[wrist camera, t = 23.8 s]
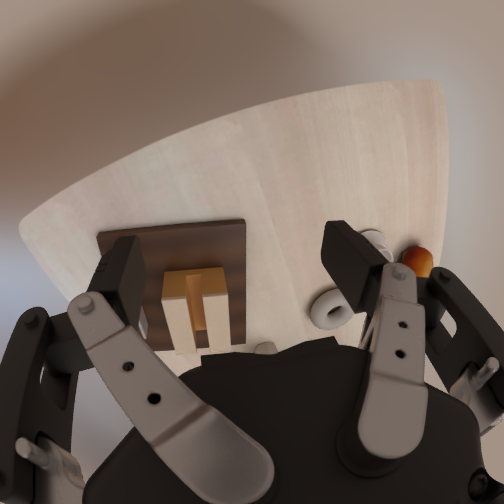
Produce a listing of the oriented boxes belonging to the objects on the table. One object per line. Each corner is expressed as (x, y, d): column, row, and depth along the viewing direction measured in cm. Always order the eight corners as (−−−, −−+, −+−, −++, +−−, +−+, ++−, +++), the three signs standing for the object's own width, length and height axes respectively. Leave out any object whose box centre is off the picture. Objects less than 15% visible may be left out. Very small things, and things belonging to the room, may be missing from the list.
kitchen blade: (115, 242, 36) (108, 257, 33) (130, 240, 37) (124, 255, 33) (140, 324, 45) (138, 341, 42) (153, 324, 46) (151, 340, 42)
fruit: (396, 248, 47) (431, 265, 42) (408, 235, 51) (440, 249, 46) (386, 282, 51) (418, 299, 46) (400, 266, 56) (429, 280, 50)
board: (99, 232, 36) (96, 237, 35) (244, 218, 40) (246, 223, 39) (138, 346, 50) (137, 351, 49) (244, 337, 54) (245, 343, 52)
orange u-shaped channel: (164, 271, 40) (161, 300, 35) (223, 266, 42) (227, 295, 36) (176, 325, 47) (176, 354, 41) (226, 321, 48) (231, 350, 43)
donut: (310, 288, 50) (305, 326, 55) (317, 300, 47) (310, 337, 52) (356, 280, 51) (347, 317, 57) (365, 291, 49) (354, 328, 54)
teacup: (339, 237, 45) (352, 251, 41) (387, 223, 45) (401, 236, 41) (340, 281, 50) (350, 297, 46) (383, 267, 51) (395, 280, 47)
